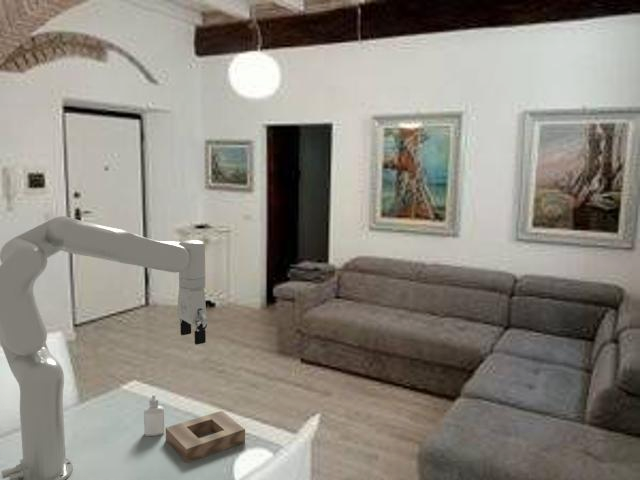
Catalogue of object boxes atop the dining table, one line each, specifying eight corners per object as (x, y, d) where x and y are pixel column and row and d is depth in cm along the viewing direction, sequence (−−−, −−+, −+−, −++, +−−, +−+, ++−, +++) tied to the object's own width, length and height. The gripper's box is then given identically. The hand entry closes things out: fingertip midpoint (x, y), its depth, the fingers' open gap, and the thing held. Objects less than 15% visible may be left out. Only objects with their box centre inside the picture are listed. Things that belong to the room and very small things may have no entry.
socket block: (186, 462, 141) (186, 449, 140) (165, 440, 151) (165, 427, 151) (245, 442, 152) (245, 429, 151) (221, 422, 163) (221, 410, 162)
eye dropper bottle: (159, 438, 153) (158, 399, 151) (141, 435, 154) (140, 397, 152) (166, 430, 157) (166, 392, 155) (149, 428, 158) (148, 390, 156)
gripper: (168, 278, 158) (169, 333, 160) (193, 290, 145) (193, 350, 147) (191, 275, 163) (192, 329, 165) (217, 287, 149) (217, 344, 152)
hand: (192, 338), depth 156 cm, fingers open, 9 cm apart
